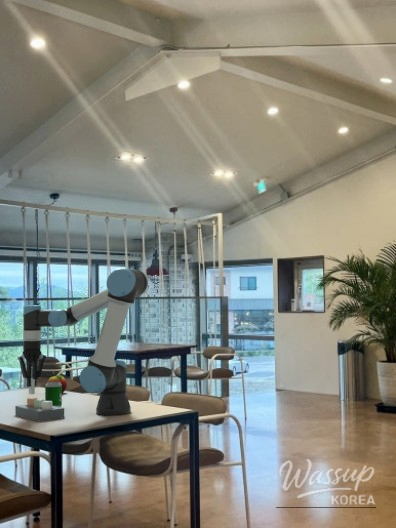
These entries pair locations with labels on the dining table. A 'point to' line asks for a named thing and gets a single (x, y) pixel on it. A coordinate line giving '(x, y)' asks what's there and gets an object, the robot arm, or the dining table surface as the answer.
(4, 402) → the dining table surface
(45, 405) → the white egg
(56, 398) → the soda can
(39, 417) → the grey egg holder
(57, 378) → the fruit
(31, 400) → the brown egg
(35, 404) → the pale green egg
